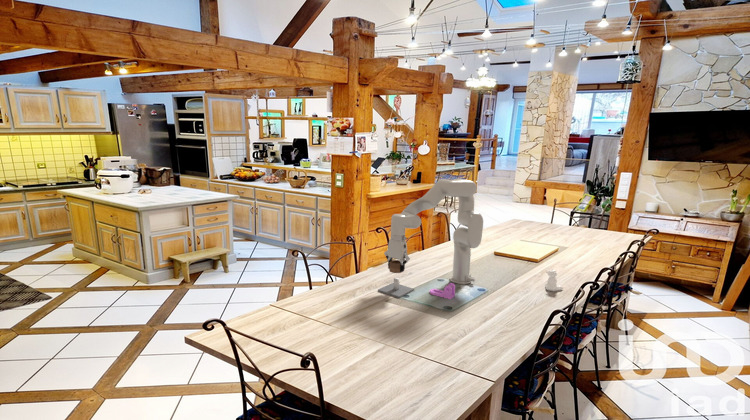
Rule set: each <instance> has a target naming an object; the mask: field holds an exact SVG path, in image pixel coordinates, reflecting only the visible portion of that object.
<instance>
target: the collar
mask: <svg viewBox="0 0 750 420" xmlns="http://www.w3.org/2000/svg"><path fill="white" fill-rule="evenodd" d="M400 265H401V262H400V260H398V259H392V260H391V261H390V264H389V269H388V271H389V272H390V273H393V274H401V273H402V272H400Z"/></svg>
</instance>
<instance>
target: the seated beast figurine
mask: <svg viewBox="0 0 750 420" xmlns="http://www.w3.org/2000/svg"><path fill="white" fill-rule="evenodd" d="M545 272H546V274H547V275H548V276H549V277H548V278H547V282H545V284H544V286H545V290H546V291H548V292H559V291H562V290H564V287H563V286H561V285H560V284H559V285H557V283H558V279H557V278H556V277H557V275H558V272H557V271H556V270H555V269H552V268H551V269H548V270H545Z"/></svg>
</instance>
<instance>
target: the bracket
mask: <svg viewBox="0 0 750 420" xmlns="http://www.w3.org/2000/svg"><path fill="white" fill-rule="evenodd" d="M429 294H430V295H433V296H437V297H440V298H443V297H444V299H447V298H448V300H452V299H453V298H454V297H455V296H456V284H455V283H453V282H450V283H448V284H447V285H445V287H444V289H443V290H442V289H438V288H431V289H429Z"/></svg>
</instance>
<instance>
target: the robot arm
mask: <svg viewBox="0 0 750 420" xmlns="http://www.w3.org/2000/svg"><path fill="white" fill-rule="evenodd" d="M477 189H478V186H477V184H476V182H475V181H473V180H469V179H464V178H459V177H458V178H454V179H452V180H450V179H446V178H442V179H439V180H438V181H437V182H436V183H435V184H434V185H432V187H431V188H429V190H428V191H427V192H426V193H425V194H424V195H423V196H422V197H419V198H418V199H416V200H414V201H412V202H411V203H410V204H408V205H407V206H406V207H405V208H404V209H403V210H402V212H401V213H393V214H392V216H391V221H390V238H389V239H388V246H387V250H386V251H384V256H385V258H386V261H387V262H388V263H387V269H388V270H389V264H390V261H391V260H400V262H401V265H400V272H401V273H404V271H405V269H406V268H405V266H406V264H407V263H408V262H409V261H410V260H411V258H410V256H409V255H408V246H407V245H408V244H407V237H406V229H413V230H414V229H418V228H419V227H420V226H421V224H422V219H421V217H420V216H419V215H418V214H419V213H421V212H422V211H426V210H431V209H432V210H433V208H435V207H437V206H438V205H439V203H441V201H442V200H443V199H444V198H446V197H451V198H458V207H457V208H458V211H457V222H458V224H459V225H462V226H460V227H458V228H456V229H455V230H453V234H452V238H453V239H452V240H453V261H452V263H453V265H452V275H451V276H450V277H449V281H450V283H453V284H458V285H467V284H468V285H469V284H470V283H472V282H473V283H475V282H476V277H475V276H472V273H470V271H471V270H470V269H471V256H472V254H471V253H472V250H471V249H476V248H478V247H479V246H480V245H481V242H482V237H483V229H484V218H483V216H482V214H481V213H479V212H477V211H475V198H474V195H475V194H476V193H477ZM466 227H467V228H466Z"/></svg>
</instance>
